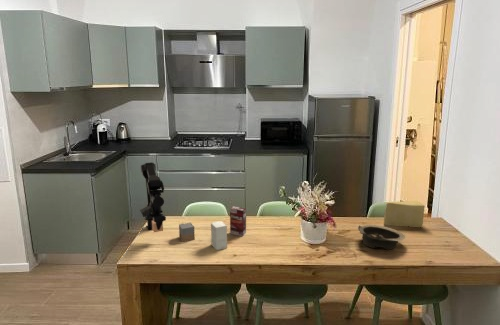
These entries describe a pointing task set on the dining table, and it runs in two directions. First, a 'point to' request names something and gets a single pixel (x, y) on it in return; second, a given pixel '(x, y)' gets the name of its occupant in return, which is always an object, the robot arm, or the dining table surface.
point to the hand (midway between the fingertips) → (157, 228)
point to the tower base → (187, 237)
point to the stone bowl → (380, 236)
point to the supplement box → (238, 221)
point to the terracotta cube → (156, 227)
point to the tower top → (186, 228)
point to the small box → (219, 235)
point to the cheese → (404, 213)
